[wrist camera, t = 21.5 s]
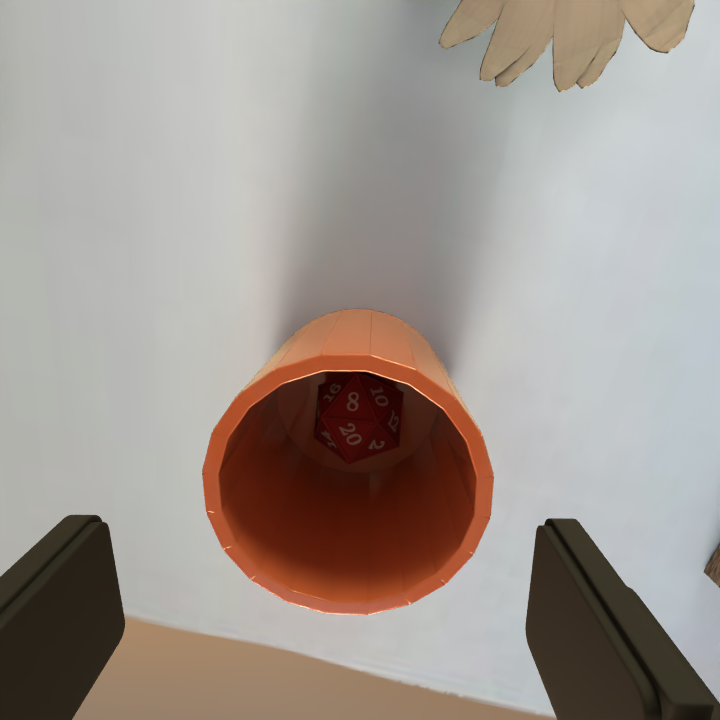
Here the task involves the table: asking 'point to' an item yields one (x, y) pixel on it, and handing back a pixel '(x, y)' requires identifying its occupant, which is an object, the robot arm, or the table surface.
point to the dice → (358, 416)
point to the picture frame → (714, 567)
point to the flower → (563, 33)
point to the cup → (348, 475)
